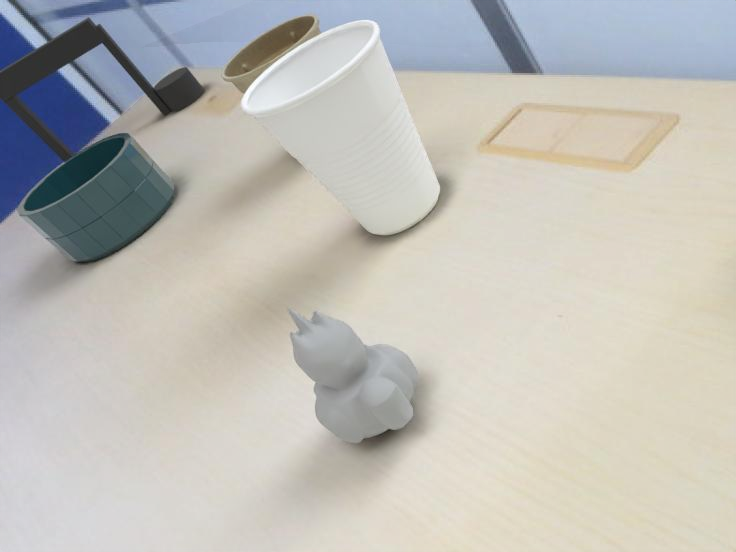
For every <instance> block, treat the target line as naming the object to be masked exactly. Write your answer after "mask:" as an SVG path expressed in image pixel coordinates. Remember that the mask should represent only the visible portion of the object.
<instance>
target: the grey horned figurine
mask: <svg viewBox="0 0 736 552" xmlns="http://www.w3.org/2000/svg"><path fill="white" fill-rule="evenodd" d="M286 310H287V312H288V314H289V315H290V316H289V317H290V318H291V319H292V320H293V323H294V324H295V326H296V327H297V329H298V330H297V331H295V332H293V331H290V332H289V337H290V341H291V345H292V351H293V353H292V354H293V359H294V362H295V363H296V365H297V366H298V367H299V369H300V370H302V372H303V373H305V375H306V376H307V377H308V378H309V379H310V380H312V381H313V382H315V383H314V385H313V393H314V395H315V402H314V413H315V417H316V419H317V421H318V423H320V425H321V426H323V427H324V428H325V429H326V430H327V431H329V432H330V433H331V434H333V435H334V436H335V437H337V438H338V439H339V440H341V441H343V442H345V443H348V444H359V443H361V442H362V441H363V440H364V439H371V438H373V437H375V436H378V435H380V434H383V433H385V432H386V431H388V430H393V431H397V430H400V429H403V428H404V427H405V426H406V425H407V424H408V423H409V422H410V421H412V419H413V417H414V407H413V406H412V404H411V401H412V398H413V395H414V389H415V388H417V387H418V385H419V383H420V376H419V371H418V369H417V367H416V366H415V364H414V362H413V361H412V359H411V358H410V356H409V355H408V354H407V353H406V352H404V351H402V350H400V349H399V348H397V347H395V346H392V345H390V344H386V343H385V344H384V343H379V344H373V345H368V344H364V342H363V341H362V339H361V338H360V337H359V335H358V334H357V333H356V332H355V330H354V329H353V328H352V327H351V326H350V325H349V324H348V323H347V322H346V321H344V320H340V319H338V318H335V317H332V316H330V315H327V314H325V313H323V312H320V311H318V310H313V311H312V316H311V317H310V318H309V319H308V318H306V317H305V316H304V315H303V314H301V313H299V312H298V311H296V310H294V309H292V308H291V307H289V306H288V305H286Z"/></svg>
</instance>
